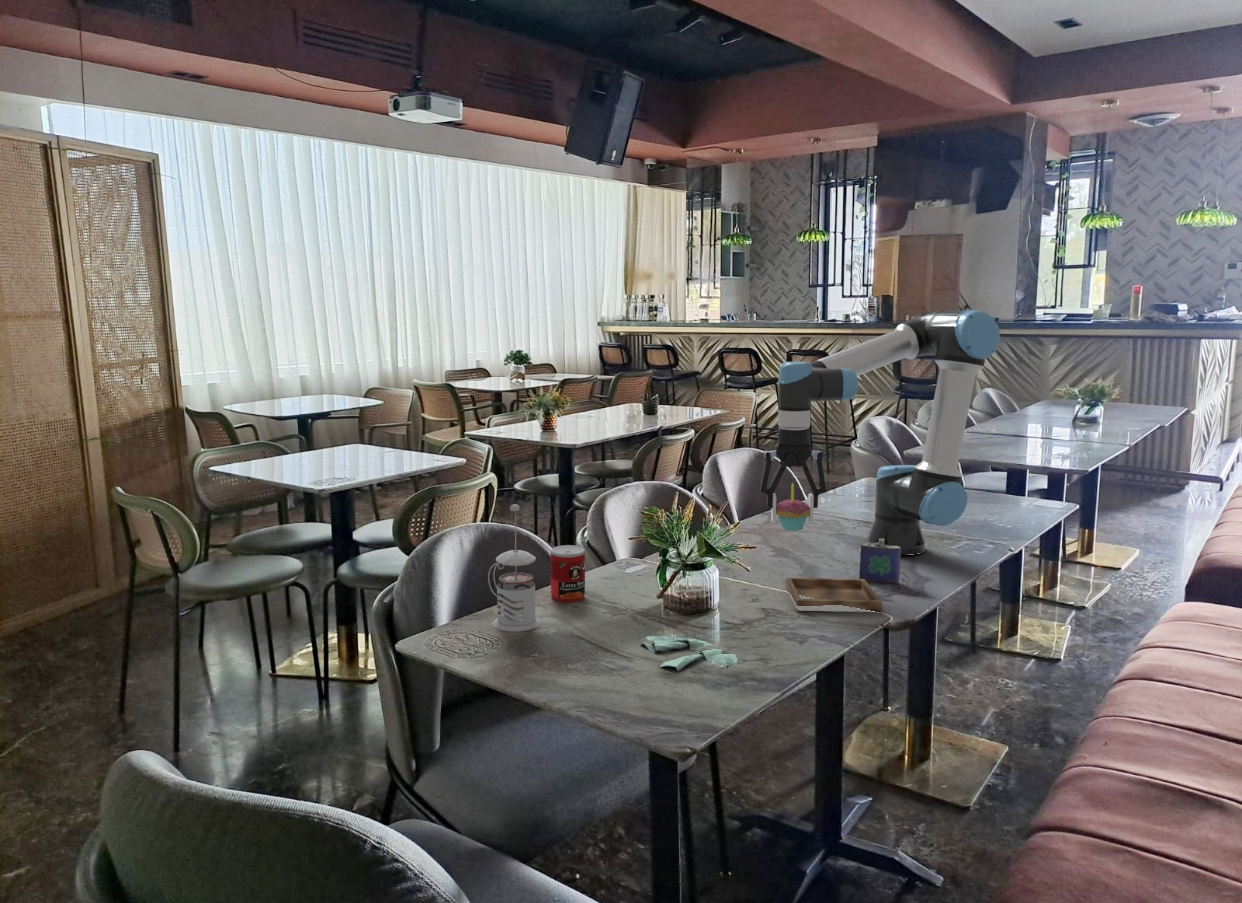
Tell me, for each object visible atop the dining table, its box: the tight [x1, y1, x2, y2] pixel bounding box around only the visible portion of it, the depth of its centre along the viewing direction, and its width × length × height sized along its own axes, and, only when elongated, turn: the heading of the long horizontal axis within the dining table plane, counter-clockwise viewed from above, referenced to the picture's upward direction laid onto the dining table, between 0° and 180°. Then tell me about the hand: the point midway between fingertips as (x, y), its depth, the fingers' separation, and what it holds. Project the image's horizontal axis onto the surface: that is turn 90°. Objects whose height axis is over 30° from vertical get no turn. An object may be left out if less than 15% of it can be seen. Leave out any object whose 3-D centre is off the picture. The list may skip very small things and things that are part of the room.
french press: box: [487, 503, 541, 632], centre depth 177 cm, size 10×12×25 cm
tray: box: [785, 577, 883, 613], centre depth 194 cm, size 18×16×2 cm
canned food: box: [550, 544, 586, 603], centre depth 195 cm, size 8×8×11 cm
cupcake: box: [776, 481, 810, 532], centre depth 208 cm, size 9×8×12 cm
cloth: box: [639, 635, 738, 672], centre depth 163 cm, size 20×22×2 cm
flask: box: [858, 538, 902, 585], centre depth 207 cm, size 9×3×11 cm, turn 74°
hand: (791, 521), depth 209 cm, fingers closed on cupcake, 8 cm apart
